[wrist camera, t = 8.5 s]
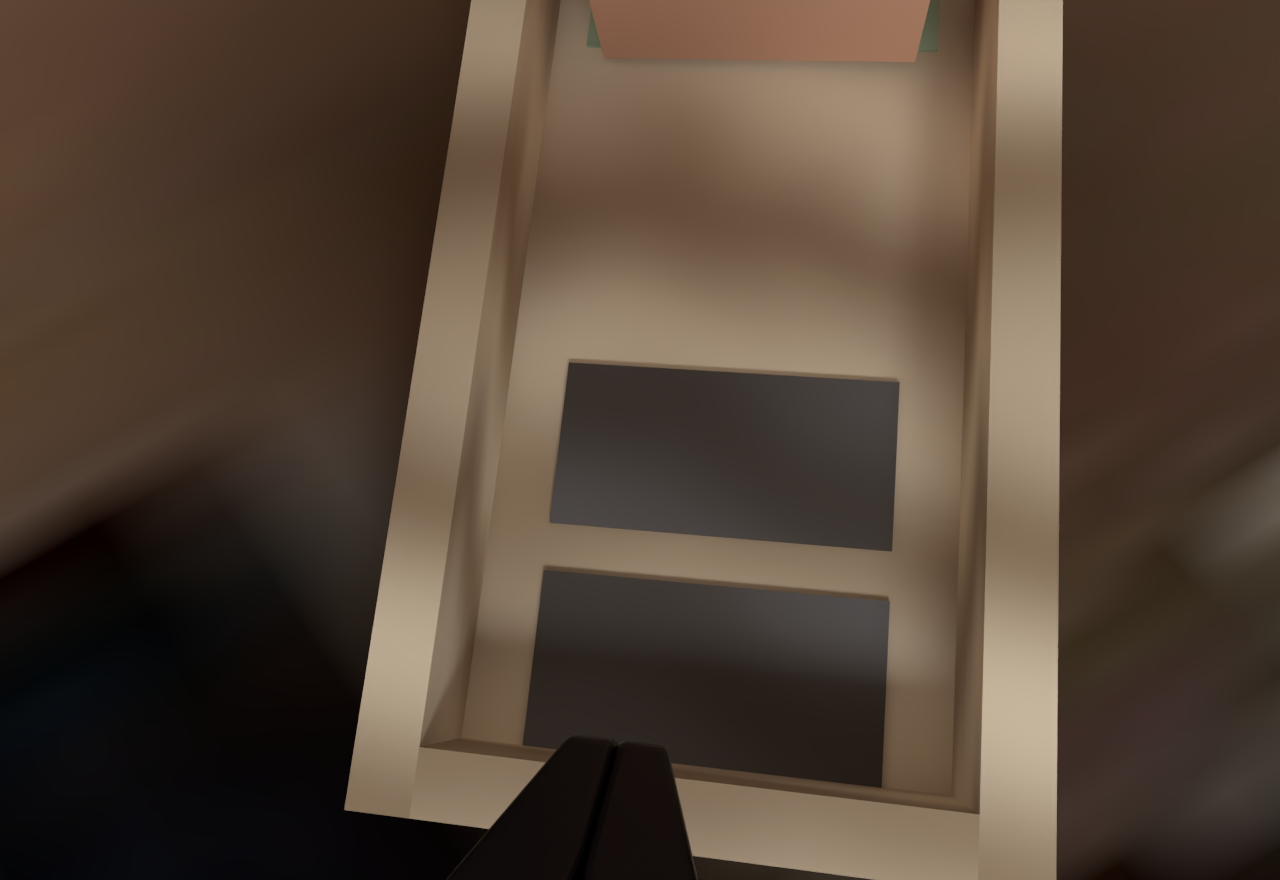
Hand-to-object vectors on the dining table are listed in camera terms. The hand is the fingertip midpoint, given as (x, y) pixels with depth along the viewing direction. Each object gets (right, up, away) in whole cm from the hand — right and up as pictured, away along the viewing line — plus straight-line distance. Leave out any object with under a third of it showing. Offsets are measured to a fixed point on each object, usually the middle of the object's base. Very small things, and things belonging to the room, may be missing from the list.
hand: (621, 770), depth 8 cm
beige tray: (+2, +7, +14) cm, 16 cm away
